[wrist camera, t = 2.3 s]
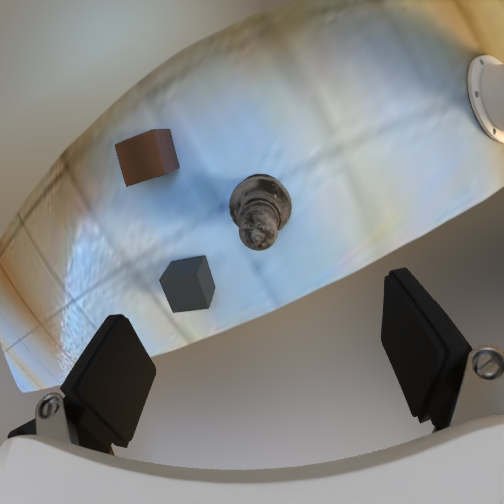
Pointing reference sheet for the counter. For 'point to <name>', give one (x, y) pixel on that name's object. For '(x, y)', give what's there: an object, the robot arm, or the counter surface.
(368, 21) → the counter surface
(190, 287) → the slate block
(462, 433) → the robot arm
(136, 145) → the walnut block
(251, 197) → the stone chess piece
